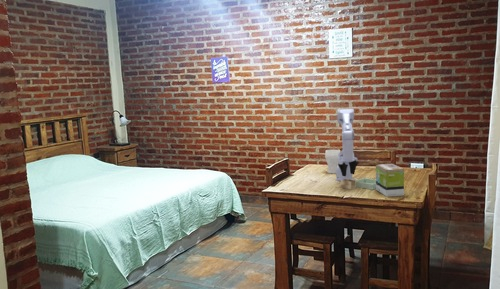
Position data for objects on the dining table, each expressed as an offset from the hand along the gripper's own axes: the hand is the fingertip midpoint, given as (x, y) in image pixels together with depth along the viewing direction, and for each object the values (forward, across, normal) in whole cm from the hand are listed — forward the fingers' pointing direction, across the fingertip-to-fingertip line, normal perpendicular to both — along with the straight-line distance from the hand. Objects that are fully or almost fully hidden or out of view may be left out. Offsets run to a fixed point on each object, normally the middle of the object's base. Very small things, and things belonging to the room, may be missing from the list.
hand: (348, 175), depth 246 cm
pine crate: (+8, 0, 0) cm, 8 cm away
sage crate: (+8, +11, -6) cm, 15 cm away
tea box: (+8, +6, -23) cm, 25 cm away
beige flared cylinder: (+8, +29, +35) cm, 46 cm away
